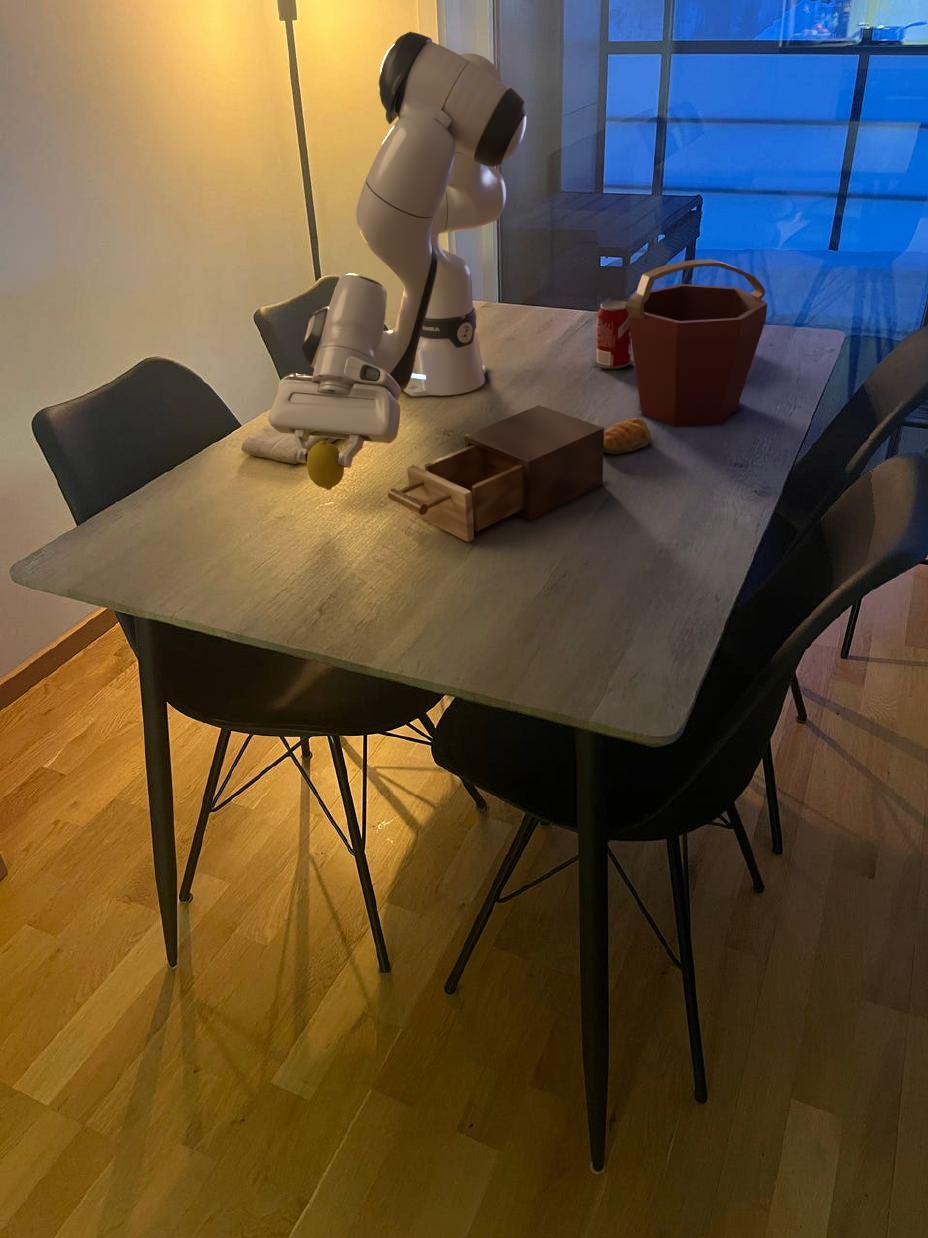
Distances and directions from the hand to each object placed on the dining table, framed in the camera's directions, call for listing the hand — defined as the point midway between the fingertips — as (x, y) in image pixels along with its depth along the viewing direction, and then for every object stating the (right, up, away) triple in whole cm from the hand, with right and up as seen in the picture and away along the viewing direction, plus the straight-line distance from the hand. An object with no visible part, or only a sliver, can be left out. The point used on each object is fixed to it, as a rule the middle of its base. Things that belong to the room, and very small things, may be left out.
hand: (323, 463), depth 141 cm
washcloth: (-8, +8, +25) cm, 27 cm away
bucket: (+61, +15, +28) cm, 69 cm away
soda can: (+51, +28, +48) cm, 75 cm away
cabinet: (+32, -3, +5) cm, 33 cm away
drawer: (+21, -8, -3) cm, 22 cm away
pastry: (+48, +6, +16) cm, 51 cm away
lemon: (0, -4, +3) cm, 5 cm away
